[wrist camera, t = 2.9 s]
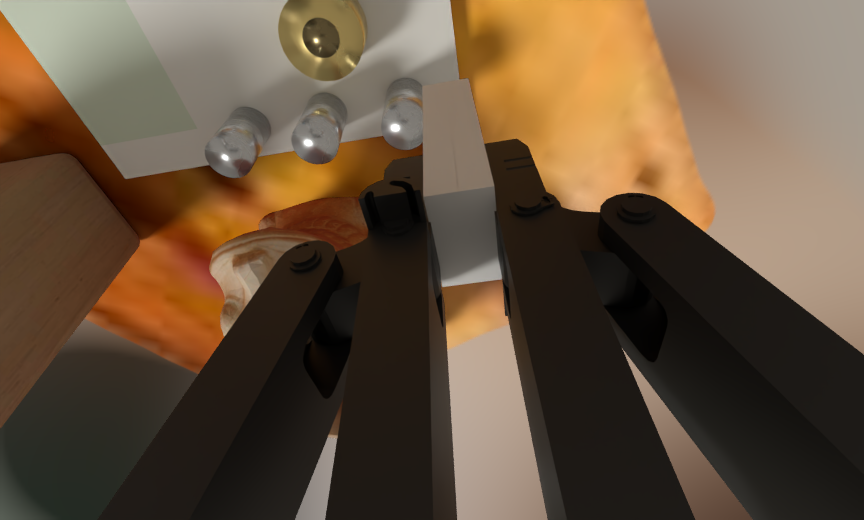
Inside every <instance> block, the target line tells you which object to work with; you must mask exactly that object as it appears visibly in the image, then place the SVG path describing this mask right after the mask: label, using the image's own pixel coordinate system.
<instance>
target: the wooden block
mask: <svg viewBox="0 0 864 520" xmlns="http://www.w3.org/2000/svg"><path fill="white" fill-rule="evenodd" d="M139 244H140V240H139V237H138V235H137V234H136V233H135V231H134V230H133V229H132V228H131V226H130V225H129V224H128V223H127V221H126V220H125V219H124V218H123V216H122V215H121V214H120V213H119V211H118V210H117V209H116V208H115V206H114V205H113V204H112V202H111V201H110V200H109V199H108V197H107V196H106V195H105V194H104V192H103V191H102V190H101V189H100V187H99V186H98V185H97V184H96V182H95V181H94V180H93V179H92V177H91V176H90V175H89V174H88V172H87V171H86V170H85V169H84V167H83V166H82V165H81V164H80V162H79V161H78V160H77V159H76V158H74V157H73V156H72V155H70V154H66V153H59V154H52V155H46V156H41V157H35V158H29V159H23V160H18V161H12V162H6V163H0V428H1V427H2V426H3V424H4V423H5V422H6V420H7V419H8V418H9V416H10V415H11V414H12V413H13V411H14V410H15V409H16V407H17V406H18V405H19V403H20V402H21V401H22V399H23V398H24V397H25V395H26V394H27V393H28V392H29V390H30V389H31V387H32V386H33V385H34V384H35V382H36V381H37V380H38V378H39V377H40V376H41V374H42V373H43V372H44V370H45V369H46V368H47V367H48V365H49V364H50V363H51V361H52V360H53V359H54V357H55V356H56V355H57V353H58V352H59V351H60V349H61V348H62V347H63V346H64V344H65V343H66V342H67V340H68V339H69V338H70V336H71V335H72V334H73V332H74V331H75V330H76V328H77V327H78V326H79V325H80V323H81V322H82V321H83V319H84V318H85V317H86V315H87V314H88V313H89V311H90V310H91V309H92V307H93V306H94V305H95V304H96V302H97V301H98V300H99V298H100V297H101V296H102V294H103V293H104V292H105V290H106V289H107V288H108V286H109V285H110V284H111V283H112V281H113V280H114V279H115V277H116V276H117V275H118V273H119V272H120V271H121V269H122V268H123V267H124V265H125V264H126V263H127V262H128V260H129V259H130V258H131V256H132V255H133V254H134V252H135V251H136V250H137V248H138V247H139Z"/></svg>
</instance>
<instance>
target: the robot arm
mask: <svg viewBox="0 0 864 520" xmlns="http://www.w3.org/2000/svg"><path fill="white" fill-rule="evenodd" d="M358 201H359V204H360V207H361V210H362V213H363V216H364V219H365V222H366V225H367V228H368V235H367V238H366V239H364V240H363V241H361V242H359V243H357V244H355V245H353V246H350V247H347V248H345V249H342V250H339V251H337V252H336V251H335V248H334V246H333V245H331V244H330V243H328V242H326V241H320V240H315V241H307V242H304V243H301V244H298V245H296V246H294V247H292V248H291V249H289V250H288V251H286V252H285V253H284V254H283V255H282V256H281V257H280V258H279V259H278V261H277V262H276V264H275V265H274V266H273V268H272V269H271V271H270V272H269V274H268V275H267V277H266V278H265V279H264V281H263V282H262V284H261V285H260V287H259V288H258V289H257V291H256V292H255V294H254V295H253V297H252V298H251V300H250V301H249V302H248V304H247V305H246V307H245V308H244V310H243V311H242V312H241V314H240V315H239V317H238V318H237V320H236V321H235V323H234V324H233V325H232V327H231V328H230V330H229V331H228V333H227V334H226V336H225V337H224V338H223V340H222V341H221V343H220V344H219V346H218V347H217V348H216V350H215V351H214V353H213V354H212V356H211V357H210V359H209V360H208V361H207V363H206V364H205V366H204V367H203V369H202V370H201V371H200V373H199V374H198V376H197V377H196V379H195V380H194V382H193V383H192V384H191V386H190V387H189V389H188V390H187V392H186V393H185V395H184V396H183V397H182V399H181V400H180V402H179V403H178V405H177V406H176V407H175V409H174V410H173V412H172V413H171V415H170V416H169V418H168V419H167V420H166V422H165V423H164V425H163V426H162V428H161V429H160V430H159V432H158V434H157V435H156V437H155V438H154V439H153V441H152V442H151V443H150V445H149V446H148V448H147V449H146V451H145V452H144V454H143V455H142V456H141V458H140V459H139V461H138V462H137V464H136V465H135V466H134V468H133V469H132V471H131V472H130V474H129V475H128V477H127V478H126V479H125V481H124V482H123V484H122V485H121V487H120V488H119V490H118V491H117V492H116V494H115V495H114V497H113V498H112V500H111V501H110V502H109V504H108V505H107V507H106V508H105V510H104V511H103V513H102V514H101V515H100V517H99V518H98V520H295V518H296V515H297V513H298V510H299V508H300V505H301V502H302V500H303V497H304V495H305V493H306V490H307V488H308V485H309V483H310V480H311V477H312V475H313V473H314V470H315V468H316V465H317V462H318V460H319V458H320V455H321V453H322V450H323V447H324V445H325V442H326V440H327V437H328V435H329V432H330V430H331V427H332V425H333V422H334V420H335V417H336V415H337V412H338V410H339V407H340V405H341V402H342V400H343V404H342V410H341V417H340V424H339V431H338V437H337V444H336V452H335V458H334V465H333V471H332V478H331V484H330V491H329V498H328V505H327V511H326V518H325V520H457V511H456V510H457V509H456V493H455V476H454V458H453V442H452V424H451V407H450V391H449V376H448V375H449V373H448V357H447V339H446V322H445V305H444V299H443V294H442V289H441V283H442V287H447V286H454V285H462V284H470V283H477V282H485V281H493V280H500V279H502V280H503V293H504V305H505V316H508V319H509V325H510V329H511V335H512V339H513V344H514V350H515V355H516V360H517V365H518V370H519V375H520V380H521V386H522V391H523V396H524V401H525V406H526V410H527V416H528V421H529V426H530V431H531V436H532V442H533V447H534V451H535V457H536V461H537V467H538V472H539V477H540V482H541V487H542V493H543V498H544V503H545V508H546V513H547V518H548V520H695V518H694V516H693V513H692V511H691V509H690V506H689V504H688V502H687V499H686V497H685V494H684V492H683V490H682V487H681V485H680V483H679V481H678V478H677V476H676V474H675V471H674V469H673V466H672V464H671V462H670V459H669V457H668V455H667V453H666V450H665V448H664V446H663V443H662V441H661V438H660V436H659V434H658V431H657V429H656V427H655V424H654V422H653V420H652V417H651V415H650V413H649V410H648V408H647V406H646V404H645V401H644V399H643V396H642V394H641V392H640V389H639V387H638V385H637V382H636V380H635V378H634V375H633V373H632V371H631V369H630V366H629V364H628V361H627V359H626V357H625V354H624V352H623V350H624V351H625V352H626V354H627V355H628V356H629V358H630V359H631V360H632V362H633V363H634V364H635V365H636V367H637V368H638V369H639V371H640V372H641V373H642V375H643V376H644V377H645V379H646V380H647V381H648V382H649V384H650V385H651V386H652V388H653V389H654V390H655V392H656V393H657V394H658V396H659V397H660V398H661V400H662V401H663V402H664V403H665V405H666V406H667V407H668V409H669V410H670V411H671V413H672V414H673V415H674V417H675V418H676V419H677V420H678V422H679V423H680V424H681V426H682V427H683V428H684V430H685V431H686V432H687V433H688V435H689V436H690V437H691V439H692V440H693V441H694V443H695V444H696V445H697V447H698V448H699V449H700V451H701V452H702V453H703V455H704V456H705V457H706V458H707V460H708V461H709V462H710V464H711V465H712V466H713V467H714V469H715V470H716V471H717V473H718V474H719V475H720V477H721V478H722V479H723V481H724V482H725V483H726V485H727V486H728V487H729V489H730V490H731V491H732V492H733V494H734V495H735V496H736V498H737V499H738V500H739V502H740V503H741V504H742V505H743V507H744V508H745V509H746V511H747V512H748V513H749V515H750V516H751V517H752V519H753V520H864V355H863V354H862V353H861V352H859V351H858V350H857V349H856V348H854V347H853V346H852V345H850V344H849V343H848V342H847V341H845V340H844V339H843V338H841V337H840V336H839V335H837V334H836V333H835V332H834V331H832V330H831V329H830V328H828V327H827V326H826V325H824V324H823V323H822V322H821V321H819V320H818V319H817V318H815V317H814V316H813V315H811V314H810V313H809V312H808V311H806V310H805V309H804V308H802V307H801V306H800V305H799V304H797V303H796V302H794V301H793V300H792V299H791V298H789V297H788V296H787V295H785V294H784V293H783V292H781V291H780V290H779V289H778V288H776V287H775V286H774V285H773V284H771V283H770V282H769V281H767V280H766V279H765V278H763V277H762V276H761V275H759V274H758V273H757V272H756V271H754V270H753V269H752V268H750V267H749V266H748V265H747V264H745V263H744V262H743V261H741V260H740V259H739V258H737V257H736V256H735V255H734V254H732V253H731V252H730V251H728V250H727V249H726V248H725V247H723V246H722V245H721V244H719V243H718V242H717V241H715V240H714V239H713V238H712V237H710V236H709V235H708V234H706V233H705V232H704V231H702V230H701V229H700V228H699V227H697V226H696V225H695V224H693V223H692V222H691V221H689V220H688V219H687V218H686V217H684V216H683V215H682V214H680V213H679V212H678V211H676V210H675V209H674V208H673V207H671V206H670V205H669V204H667V203H666V202H664V201H662V200H661V199H659V198H657V197H654V196H650V195H646V194H642V193H626V194H620V195H615V196H613V197H611V198H609V199H607V200H606V201H605V202H604V203H603V204H602V205H601V209H600V213H599V212H582V211H574V210H569V209H566V208H563V207H561V205H560V202H559V201H558V200H557V199H556V197H555V196H554V195H552V194H550V193H548V192H546V190H545V187H544V185H543V182H542V180H541V178H540V175H539V173H538V170H537V168H536V166H535V163H534V160H533V158H532V155H531V153H530V150H529V148H528V146H527V145H525V144H524V143H522V142H521V141H519V140H518V139H512V140H506V141H499V142H493V143H487V144H484V141H483V137H482V133H481V129H480V125H479V120H478V116H477V112H476V108H475V104H474V100H473V96H472V91H471V87H470V83H469V79H468V78H466V79H460V80H454V81H449V82H443V83H437V84H432V85H426V86H423V155H421V156H415V157H408V158H402V159H396V160H393V161H392V162H391V163H390V164H389V166H388V167H387V168H386V169H385V173H384V180H381V181H378V182H376V183H374V184H372V185H370V186H368V187H367V188H366V189H365V190H364V191H363V192H361V194H360V196H359V198H358ZM622 348H623V350H622Z"/></svg>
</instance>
